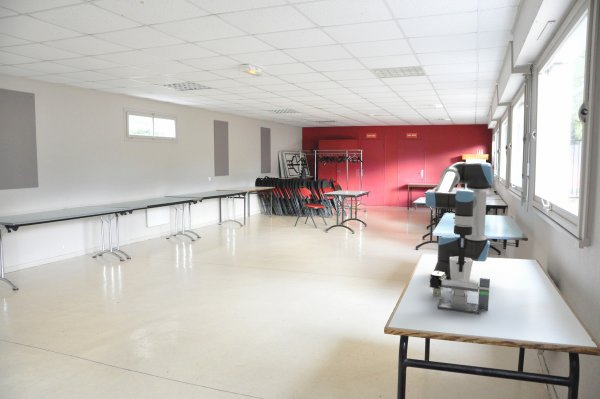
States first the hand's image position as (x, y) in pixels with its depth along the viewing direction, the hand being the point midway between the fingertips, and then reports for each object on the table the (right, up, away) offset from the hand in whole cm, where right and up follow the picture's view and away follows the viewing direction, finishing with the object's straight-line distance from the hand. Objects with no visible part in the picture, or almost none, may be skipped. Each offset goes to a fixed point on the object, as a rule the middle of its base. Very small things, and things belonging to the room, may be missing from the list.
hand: (460, 277), depth 188 cm
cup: (+8, -12, +23) cm, 27 cm away
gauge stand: (+1, -13, +1) cm, 14 cm away
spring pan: (+2, -9, 0) cm, 9 cm away
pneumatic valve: (-4, -12, +18) cm, 22 cm away
